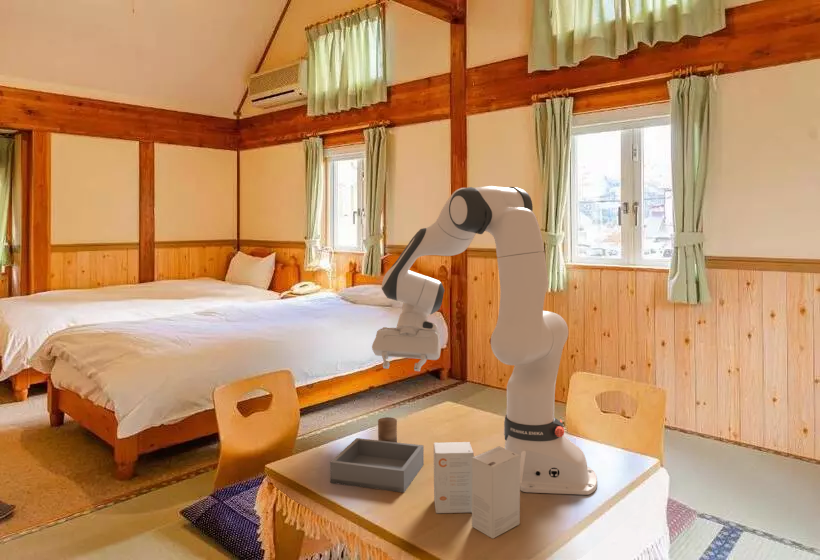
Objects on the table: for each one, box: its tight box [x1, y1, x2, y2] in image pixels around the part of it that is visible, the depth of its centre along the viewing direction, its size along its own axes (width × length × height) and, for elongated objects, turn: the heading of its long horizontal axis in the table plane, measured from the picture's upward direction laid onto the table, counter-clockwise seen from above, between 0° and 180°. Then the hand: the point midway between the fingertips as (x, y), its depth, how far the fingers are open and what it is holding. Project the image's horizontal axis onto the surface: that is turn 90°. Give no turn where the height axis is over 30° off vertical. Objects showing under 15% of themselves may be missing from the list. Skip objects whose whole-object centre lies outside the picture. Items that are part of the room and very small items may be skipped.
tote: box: [329, 437, 425, 494], centre depth 139 cm, size 18×16×5 cm
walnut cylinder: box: [377, 416, 398, 443], centre depth 154 cm, size 5×5×8 cm
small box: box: [433, 441, 475, 514], centre depth 122 cm, size 8×6×13 cm
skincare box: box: [471, 446, 521, 539], centre depth 114 cm, size 8×6×15 cm
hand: (400, 368), depth 165 cm, fingers open, 8 cm apart
